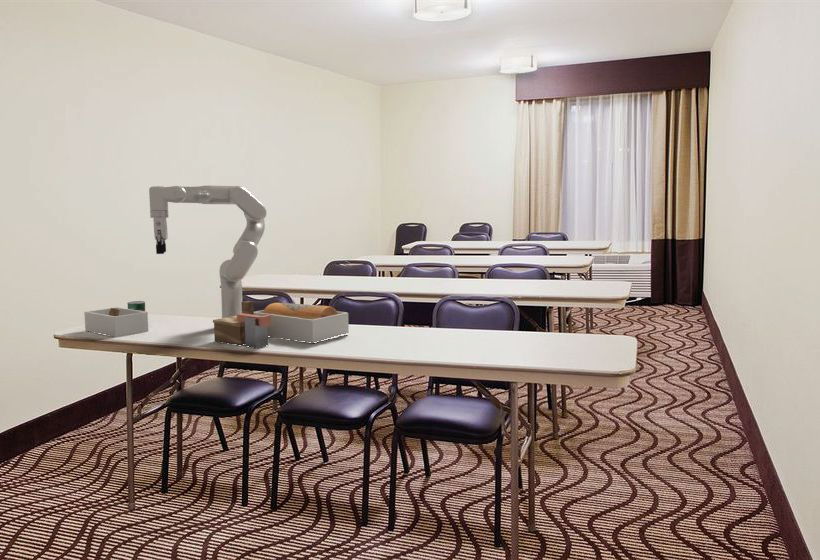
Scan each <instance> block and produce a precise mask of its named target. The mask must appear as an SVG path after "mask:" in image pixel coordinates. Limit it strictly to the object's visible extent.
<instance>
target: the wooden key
mask: <svg viewBox="0 0 820 560" xmlns="http://www.w3.org/2000/svg"><path fill="white" fill-rule="evenodd" d="M246 317H249V318H256V319H258V325H259V326H260V327H265V326H270V325H271V316H270V315H265V316H258V315H251V314H244V313H241V314H237V322H244V323H245V318H246Z"/></svg>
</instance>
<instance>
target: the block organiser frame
mask: <svg viewBox="0 0 820 560" xmlns="http://www.w3.org/2000/svg"><path fill="white" fill-rule="evenodd" d="M110 308H111V307H110ZM110 308H102V309H95V310H89V311H84V313H83V315H84V328H85V329H84V330H85V332H86V331H89V332H88V333H91V332H95V333H94V334H96V333H101V334H106V335H110V336H109V337H111V336H114V337H113V338H119V337H118V336H121V337H125V336H124V335H127V336H132V335H138V334H143V333H148V332H149V317H148V315H149V314H148V311H145V312H144V311H138V310H131V309H128V308H126V307H125V308H124V307H119V306H118V307H117V306H115V307H114V308H115V309H118V310H120V312H119V316H110V315H109V312H110ZM101 334H100V335H101ZM131 334H132V335H131ZM106 335H105V336H106Z"/></svg>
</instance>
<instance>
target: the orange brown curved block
mask: <svg viewBox="0 0 820 560" xmlns="http://www.w3.org/2000/svg"><path fill="white" fill-rule="evenodd" d="M263 310H264V311H263V313H266V314H274V315H281V316H288V317H296V318H303V319H310V320H314V319H318V318H323V317H328V316H332V315H337V314H338V312H339V311H338V310H336V308H334V307H333V306H330V305H329V306H328V305H318V304H306V303H302V304H301V303H290V302H289V303H288V302H272V303H269V304H268V305H267V306H266V307H265V308H264V309H263ZM337 311H338V312H337Z"/></svg>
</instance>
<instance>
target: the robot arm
mask: <svg viewBox="0 0 820 560" xmlns="http://www.w3.org/2000/svg"><path fill="white" fill-rule="evenodd" d="M148 194H149V198H148V199H149V211H150V212H149V216H150V218H151V219H152V221H153V232H154V233H153V234H154V235H153V236H154V240H155V244H156V245H155V250H156V255H164V254H165V253H167V246H166V244H167V243H166V241H167V240H168V239H169V237H168V236H169V235H168V222H167V218H168V219H169V204H168V203H174V204H179V203H182V204H184V203H185V204H201V205H235V206H237V208H239V210H241V211H242V212H243V215H244V217H245V220H246V226H245V228H244V230H243V232H242V234H241V235H240V237H239V238H238V240H237V241H236V243H235V244H234V247H233V249H232V253H233V256H232V257H231V258H230V259H226V260H224V261H223V262H222V263H221V264H220V267H219V279H220V292H221V293H220V297H221V299H220V300H221V301H220V302H221V318H226V317H232V316H237V314H241V313H242V305H241V302H243V284H242V280H243V279H244V278H245V276H246V275H247V274H248V272H249V270H250V269H251V267H252V266H253V264H254V262H255V261H256V259H257V257H258V253H259V252H258V251H259V250H258V247H257V246H258V244H259V243H260V241H261V239H262V237H263V235H264V232H265V227H266V224H265V218H266V217H267V209H266V206H264V204H262V202H260V201H259V200H258V199H257V198H256V197H255V196H254V195H253V194H252V193H251V192H250V191H248V190H247V189H246V188H245V187H243V185H199V186H179V185H173V186H162V185H159V186H158V185H157V186H154V185H153V186H150V187H149V189H148Z"/></svg>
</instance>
